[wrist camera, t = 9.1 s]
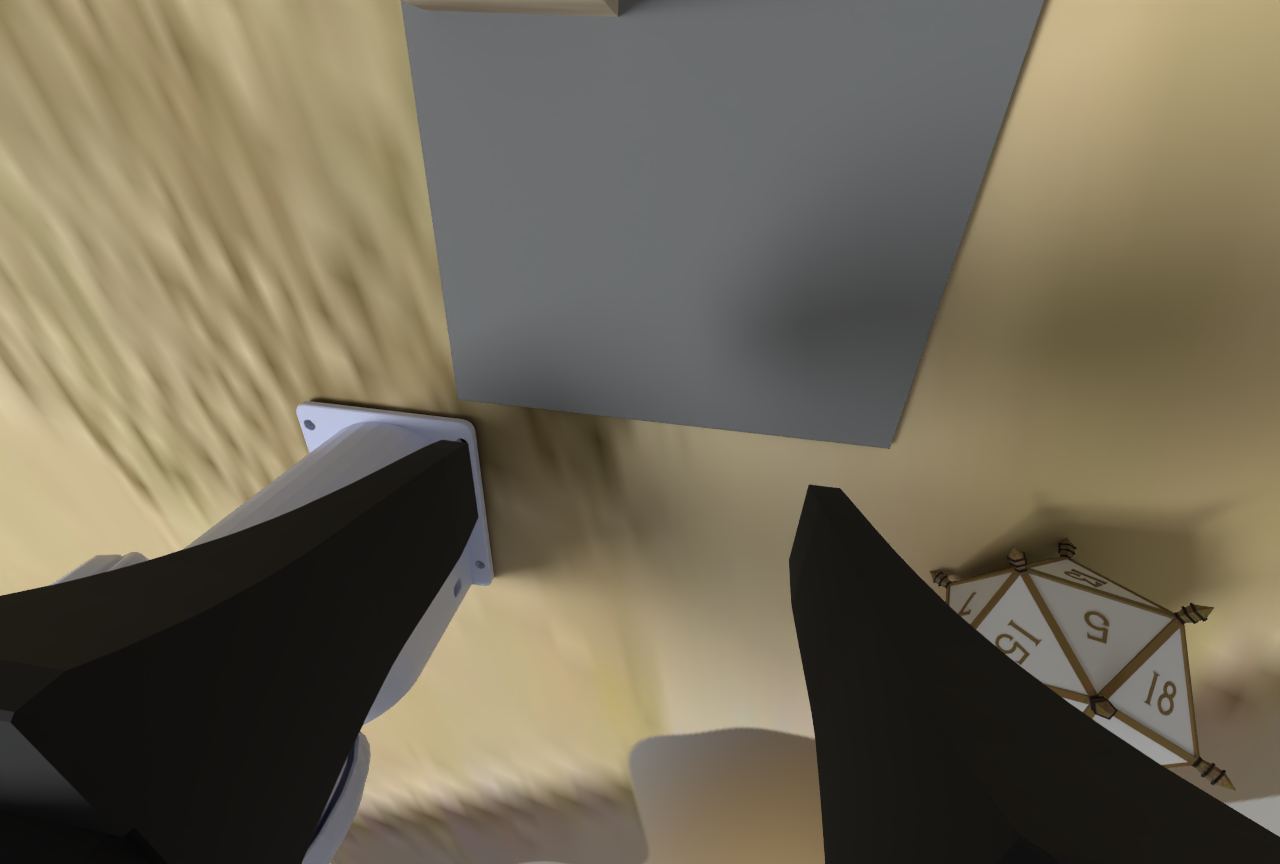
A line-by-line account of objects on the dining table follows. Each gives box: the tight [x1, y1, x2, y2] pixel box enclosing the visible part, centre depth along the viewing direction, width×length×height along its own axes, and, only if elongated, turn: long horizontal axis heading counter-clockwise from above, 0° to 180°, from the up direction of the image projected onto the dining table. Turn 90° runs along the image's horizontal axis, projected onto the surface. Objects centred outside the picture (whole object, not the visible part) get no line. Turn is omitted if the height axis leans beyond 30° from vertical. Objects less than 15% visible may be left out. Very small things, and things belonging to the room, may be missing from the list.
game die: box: [930, 538, 1236, 790], centre depth 19 cm, size 9×8×10 cm
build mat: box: [401, 0, 1044, 449], centre depth 15 cm, size 22×17×1 cm
